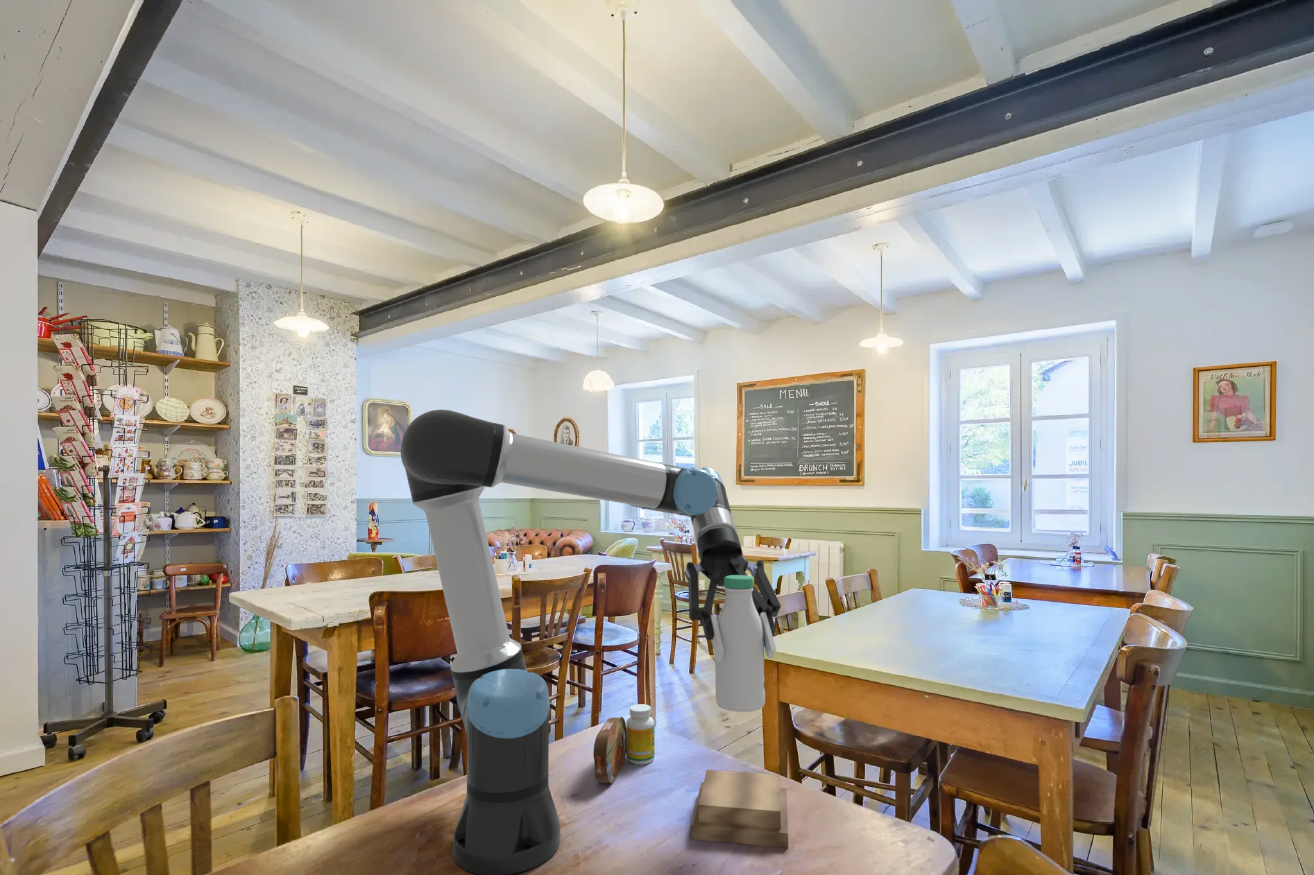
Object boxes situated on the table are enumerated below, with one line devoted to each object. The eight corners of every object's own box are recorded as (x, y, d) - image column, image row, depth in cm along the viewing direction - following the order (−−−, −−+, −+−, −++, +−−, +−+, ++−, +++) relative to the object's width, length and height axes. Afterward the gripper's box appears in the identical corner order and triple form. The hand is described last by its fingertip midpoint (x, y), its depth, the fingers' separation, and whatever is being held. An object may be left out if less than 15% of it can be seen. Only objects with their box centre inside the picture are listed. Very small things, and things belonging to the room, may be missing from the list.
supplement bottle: (624, 755, 126) (623, 703, 127) (651, 752, 127) (651, 701, 128) (629, 767, 121) (629, 713, 122) (657, 763, 122) (657, 711, 123)
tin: (608, 792, 111) (608, 741, 112) (590, 790, 112) (590, 740, 112) (628, 755, 126) (628, 710, 127) (612, 754, 127) (612, 709, 127)
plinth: (691, 839, 96) (690, 807, 97) (701, 794, 110) (701, 766, 110) (788, 848, 94) (787, 815, 94) (786, 800, 108) (786, 772, 108)
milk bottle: (764, 715, 99) (762, 580, 100) (713, 712, 100) (711, 579, 102) (766, 698, 106) (763, 573, 108) (718, 695, 108) (717, 572, 109)
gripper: (766, 551, 122) (802, 664, 105) (658, 554, 118) (677, 671, 101) (776, 524, 117) (815, 638, 100) (663, 526, 113) (684, 645, 96)
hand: (746, 655), depth 100 cm, fingers closed on milk bottle, 7 cm apart
